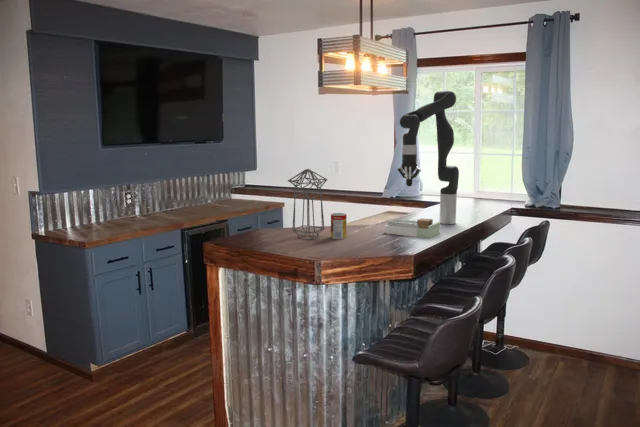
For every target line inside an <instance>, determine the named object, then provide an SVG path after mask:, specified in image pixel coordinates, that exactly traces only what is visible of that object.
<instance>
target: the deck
mask: <svg viewBox="0 0 640 427" xmlns="http://www.w3.org/2000/svg"><path fill="white" fill-rule="evenodd" d="M440 227H441V223H440V222H439V221H438V222H435V223H433V224H432V225H430V226H428V229H426V228H410V227H400V226H391V225H388V224H385V225H384V234H388V235H389V234H390V235H398V236H407V237H416V238H424V237H425V238H426V239H430V238H433V237H435V236H438V235H440V232H441V230H440V229H441V228H440Z"/></svg>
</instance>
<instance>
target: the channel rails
mask: <svg viewBox="0 0 640 427" xmlns="http://www.w3.org/2000/svg"><path fill="white" fill-rule="evenodd" d="M387 225H391V226H400V227H410V228H419V224H417V220H409V219H403V218H402V219H401V218H395V221H387Z"/></svg>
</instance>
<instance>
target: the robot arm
mask: <svg viewBox="0 0 640 427" xmlns="http://www.w3.org/2000/svg"><path fill="white" fill-rule="evenodd" d="M456 103H457V95H456V92H454V91H452V90H439V91H436V92H435V93H434V95H433V102H429V103H427V104H425V105H423V106H420V107H419V108H417V109H415V110H413V111H410V112H407V113H405V114H403V115H402V116H401V117H400V120H399V126H400V127H401V128H403V129H406V130H407V129H408V132H406V133H404V134H403V136H402V150H401V153H402V154H401V155H402V160H401V161H402V163H401V165H400V167H399V168H397V171H398V172H399V174H400V175H401V177H402V178H403V179H405V180H406V182H405V185H406V186H407V187H412V185H413V179H416V178H417V177H418V175H419V174H420V173H421V171H422V169H421V168H419V166H418V164H417V161H418V159H417V158H418V151H417V150H418V149H417V147H418V146H417V136H418V133H419V128H420V126H421V125H420V124H421V123H422V122H424V121H425V120H428V119H429V118H431V117H432V116H435V121H436V122H435V124H436V138H437V139H436V141H437V152H438V153H437V154H438V155H437V177H438V181H441V182H446V183H447V182H448V185H447V186H444V187H441V189H440V192H439V194H440V195H439V200H440V201H439V204H440V205H439V221H438V222H440V224H443V225H455V224H456V221H457V197H458V196H457V195H458V188H459V179H460V178H459V177H460V176H459V175H460V170H459V168H458V167H457V166H456V165H447V160H448V155H449V154H450V151H451V150H452V149H453V147H454V143H455V133H454V129H453V127H452V125H451V123H450V121H449V120H448V118H447V115H446V110H447V109H450V108H452V107H454V106H455V105H456Z"/></svg>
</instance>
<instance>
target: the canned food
mask: <svg viewBox="0 0 640 427" xmlns="http://www.w3.org/2000/svg"><path fill="white" fill-rule="evenodd" d="M347 219H348V218H347V213H343V212H335V213H330V238H331V239H333V240H344V239H346V238H347V223H348V222H347Z"/></svg>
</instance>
